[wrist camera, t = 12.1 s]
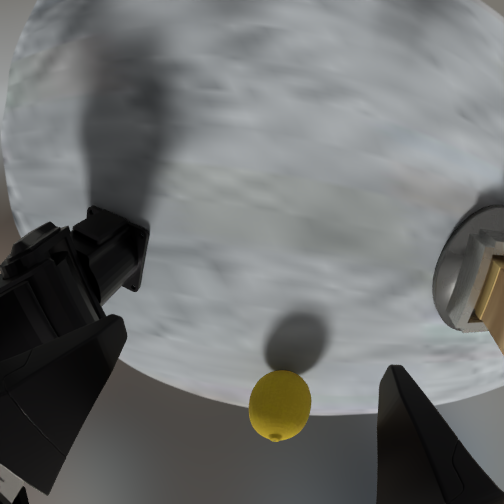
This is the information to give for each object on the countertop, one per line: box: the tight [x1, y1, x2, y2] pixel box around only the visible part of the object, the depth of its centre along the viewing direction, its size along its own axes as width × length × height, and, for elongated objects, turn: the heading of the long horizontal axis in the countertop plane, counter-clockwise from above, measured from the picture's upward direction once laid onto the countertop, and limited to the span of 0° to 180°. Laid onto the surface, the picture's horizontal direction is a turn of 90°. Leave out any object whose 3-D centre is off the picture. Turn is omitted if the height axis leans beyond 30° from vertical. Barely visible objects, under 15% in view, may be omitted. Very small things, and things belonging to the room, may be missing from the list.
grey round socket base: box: [433, 205, 504, 333], centre depth 17 cm, size 12×12×3 cm
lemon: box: [249, 370, 311, 442], centre depth 23 cm, size 6×6×8 cm
